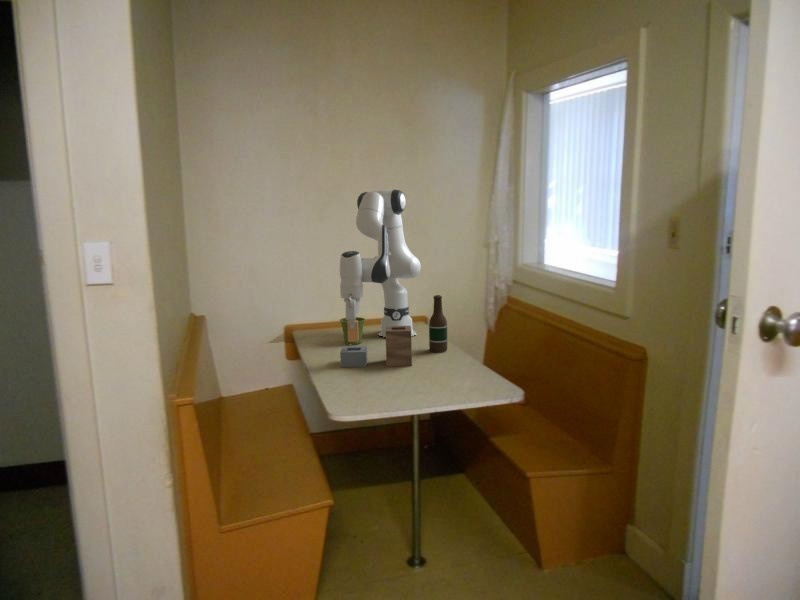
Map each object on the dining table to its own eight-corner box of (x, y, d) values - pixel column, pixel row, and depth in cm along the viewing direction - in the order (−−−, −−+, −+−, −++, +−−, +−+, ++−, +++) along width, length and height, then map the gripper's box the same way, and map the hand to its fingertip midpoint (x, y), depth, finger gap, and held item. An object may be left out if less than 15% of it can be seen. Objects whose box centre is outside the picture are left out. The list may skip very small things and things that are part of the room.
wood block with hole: (387, 359, 245) (386, 326, 243) (411, 358, 245) (410, 325, 243) (386, 366, 235) (385, 331, 233) (411, 365, 235) (411, 330, 233)
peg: (348, 340, 240) (348, 320, 239) (358, 339, 240) (357, 320, 239) (348, 341, 237) (347, 322, 236) (358, 341, 237) (357, 321, 236)
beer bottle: (438, 353, 253) (437, 297, 249) (425, 350, 259) (424, 295, 255) (451, 350, 258) (450, 295, 254) (438, 347, 264) (438, 293, 260)
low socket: (343, 360, 245) (342, 346, 244) (367, 360, 245) (367, 345, 244) (340, 367, 236) (340, 352, 235) (366, 366, 236) (365, 351, 235)
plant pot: (363, 346, 268) (362, 322, 266) (337, 346, 270) (336, 321, 268) (368, 340, 280) (368, 316, 278) (344, 340, 282) (343, 316, 280)
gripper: (357, 296, 225) (359, 332, 228) (361, 289, 246) (362, 322, 248) (341, 297, 225) (342, 332, 228) (346, 289, 246) (347, 322, 248)
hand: (352, 327), depth 238 cm, fingers closed on peg, 3 cm apart
